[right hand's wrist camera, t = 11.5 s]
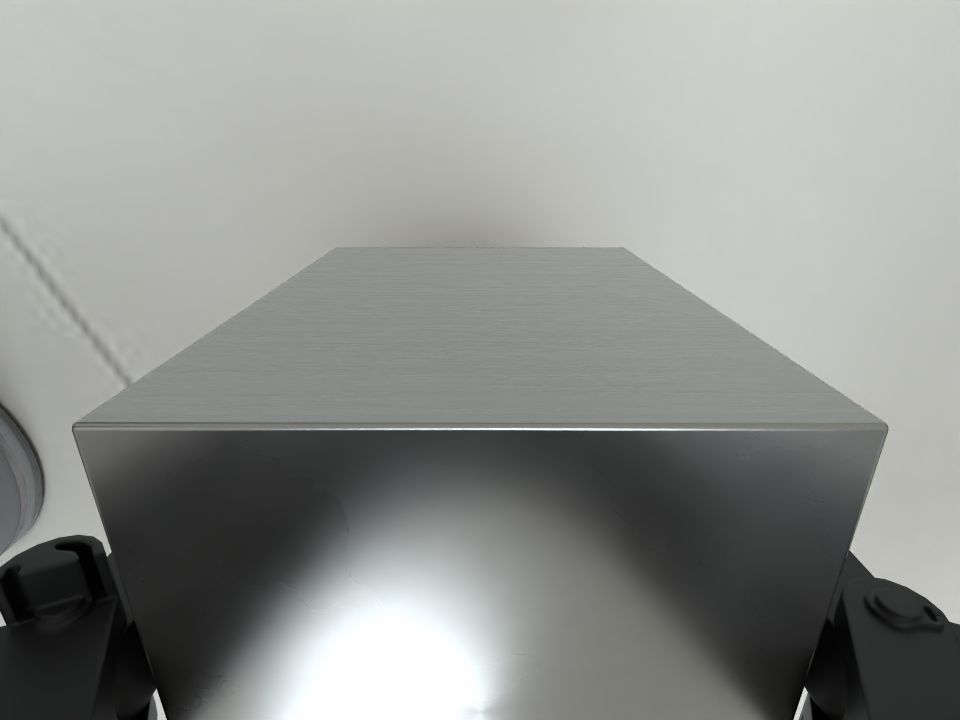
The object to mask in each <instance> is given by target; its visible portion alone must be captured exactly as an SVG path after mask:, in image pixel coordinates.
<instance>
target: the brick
mask: <svg viewBox="0 0 960 720" xmlns="http://www.w3.org/2000/svg"><path fill="white" fill-rule="evenodd" d="M72 432H73V435H74V438H75V441H76V444H77V447H78V450H79V453H80V456H81V459H82V462H83V465H84V468H85V471H86V474H87V477H88V481H89V484H90V487H91V490H92V493H93V496H94V499H95V502H96V505H97V508H98V511H99V514H100V517H101V520H102V523H103V526H104V529H105V532H106V535H107V539H108V542H109V545H110V548H111V551H112V554H113V557H114V560H115V563H116V566H117V569H118V572H119V575H120V578H121V581H122V584H123V587H124V590H125V593H126V596H127V600H128V603H129V606H130V609H131V612H132V615H133V618H134V621H135V624H136V627H137V630H138V633H139V636H140V639H141V642H142V645H143V648H144V651H145V654H146V657H147V661H148V664H149V667H150V670H151V673H152V676H153V679H154V682H155V685H156V688H157V691H158V694H159V697H160V700H161V703H162V706H163V709H164V712H165V715H166V718H167V720H793V719H794V716H795V713H796V710H797V707H798V704H799V701H800V698H801V695H802V692H803V689H804V686H805V683H806V680H807V677H808V673H809V670H810V667H811V664H812V661H813V658H814V655H815V652H816V649H817V646H818V643H819V640H820V637H821V634H822V631H823V628H824V625H825V622H826V619H827V616H828V613H829V610H830V606H831V603H832V600H833V597H834V594H835V591H836V588H837V585H838V582H839V579H840V576H841V573H842V570H843V567H844V564H845V561H846V558H847V555H848V552H849V549H850V546H851V542H852V539H853V536H854V533H855V530H856V527H857V524H858V521H859V518H860V515H861V512H862V509H863V506H864V503H865V500H866V497H867V494H868V491H869V488H870V485H871V482H872V478H873V475H874V472H875V469H876V466H877V463H878V460H879V457H880V454H881V451H882V448H883V445H884V442H885V439H886V436H887V433H888V425H887V424H886V423H885V422H883V421H882V420H880V419H879V418H877V417H876V416H874V415H873V414H872V413H870V412H869V411H867V410H866V409H864V408H863V407H861V406H860V405H858V404H857V403H855V402H854V401H852V400H851V399H849V398H848V397H846V396H845V395H843V394H842V393H840V392H839V391H837V390H836V389H834V388H833V387H831V386H830V385H828V384H827V383H825V382H824V381H822V380H821V379H819V378H818V377H816V376H815V375H813V374H812V373H810V372H809V371H807V370H806V369H804V368H803V367H801V366H800V365H798V364H797V363H795V362H794V361H792V360H791V359H789V358H788V357H786V356H785V355H783V354H782V353H780V352H779V351H777V350H776V349H774V348H773V347H771V346H770V345H768V344H767V343H765V342H764V341H762V340H761V339H760V338H758V337H757V336H755V335H754V334H752V333H751V332H749V331H748V330H746V329H745V328H743V327H742V326H740V325H739V324H737V323H736V322H734V321H733V320H731V319H730V318H728V317H727V316H725V315H724V314H722V313H721V312H719V311H718V310H716V309H715V308H713V307H712V306H710V305H709V304H707V303H706V302H704V301H703V300H701V299H700V298H698V297H697V296H695V295H694V294H692V293H691V292H689V291H688V290H686V289H685V288H683V287H682V286H680V285H679V284H677V283H676V282H674V281H673V280H671V279H670V278H668V277H667V276H665V275H664V274H662V273H661V272H659V271H658V270H656V269H655V268H653V267H652V266H650V265H649V264H648V263H646V262H645V261H643V260H642V259H640V258H639V257H637V256H636V255H634V254H633V253H631V252H630V251H628V250H627V249H625V248H335V249H334V250H332V251H331V252H329V253H328V254H326V255H325V256H323V257H322V258H320V259H319V260H317V261H316V262H314V263H313V264H311V265H310V266H308V267H307V268H305V269H304V270H302V271H301V272H299V273H298V274H296V275H295V276H293V277H292V278H290V279H289V280H287V281H286V282H284V283H283V284H281V285H280V286H278V287H277V288H275V289H274V290H272V291H271V292H269V293H268V294H266V295H265V296H263V297H262V298H260V299H259V300H257V301H256V302H254V303H253V304H251V305H250V306H248V307H247V308H245V309H244V310H242V311H241V312H239V313H238V314H237V315H235V316H234V317H232V318H231V319H229V320H228V321H226V322H225V323H223V324H222V325H220V326H219V327H217V328H216V329H214V330H213V331H211V332H210V333H208V334H207V335H205V336H204V337H202V338H201V339H199V340H198V341H196V342H195V343H193V344H192V345H190V346H189V347H187V348H186V349H184V350H183V351H181V352H180V353H178V354H177V355H175V356H174V357H172V358H171V359H169V360H168V361H166V362H165V363H163V364H162V365H160V366H159V367H157V368H156V369H154V370H153V371H151V372H150V373H148V374H147V375H145V376H144V377H142V378H141V379H140V380H138V381H137V382H135V383H134V384H132V385H131V386H129V387H128V388H126V389H125V390H123V391H122V392H120V393H119V394H117V395H116V396H114V397H113V398H111V399H110V400H108V401H107V402H105V403H104V404H102V405H101V406H99V407H98V408H96V409H95V410H93V411H92V412H90V413H89V414H87V415H86V416H84V417H83V418H81V419H80V420H78V421H77V422H75V423H74V424H73V426H72Z"/></svg>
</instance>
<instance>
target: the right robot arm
mask: <svg viewBox="0 0 960 720" xmlns="http://www.w3.org/2000/svg"><path fill="white" fill-rule="evenodd" d="M41 502H42V479H41V474H40V470H39V466H38V463H37V460H36V458H35V455H34V453H33V451H32V449H31V447H30V445H29V443H28V441H27V440H26V438H25V436H24V435H23V433H22V432H21V431H20V429H19V428H18V426H17V425H16V424H15V423H14V421H13V420H12V419H11V418H10V417H9V416H8V414H7V413H6V412H5V411H4V410H3V409H2V408H1V407H0V555H1V554H3V553H4V552H5V551H6V550H7V549H9V548H10V547H11V546H12V545H13V544H14V543H16V542H17V541H18V540H19V539H20V538H21V537H22V536H24V535H25V534H26V533H27V532H28V530H29V529H30V528H31V527H32V525H33V523H34V522H35V520H36V518H37V516H38V513H39V511H40V507H41ZM0 612H1V614H2V616H3V618H4V621H5V623H6V626H2V627H0V720H157V709H156V703H155V700H154V697H153V693H154V692H155V690H156V685H155V682H154V679H153V676H152V673H151V670H150V667H149V664H148V661H147V657H146V654H145V651H144V648H143V645H142V642H141V639H140V636H139V633H138V630H137V627H136V624H135V621H134V618H133V615H132V612H131V609H130V606H129V603H128V600H127V596H126V593H125V590H124V587H123V584H122V581H121V578H120V575H119V572H118V569H117V566H116V563H115V560H114V557H113V554H112V552H111V553H110V555H109V556H108V557H107V556H106V553H105V550H104V547H103V544H102V542H100V541H99V540H98V539H96V538H95V537H92V536H84V535H74V536H67V537H60V538H56V539H53V540H50V541H47V542H44V543H41V544H38V545H36V546H34V547H32V548H30V549H28V550H26V551H24V552H22V553H20V554H18V555H16V556H15V557H13V558H12V559H11V560H9V561H8V562H6V563H5V564H4V565H2V566H1V567H0ZM805 688H806V690H807V691H808V694H807V697H806V700H805V703H804V706H803V709H802V712H801V715H800V718H799V720H960V624H955V623H952V622H949V621H948V619H947V618H946V616H945V615H944V613H943V612H942V611H941V610H939V609H938V608H937V607H936V606H935V605H934V604H932V603H931V602H930V601H929V600H928V599H926V598H925V597H923V596H921V595H919V594H918V593H916V592H914V591H912V590H911V589H909V588H907V587H905V586H902V585H899V584H897V583H894V582H891V581H889V580H886V579H880V578H875V577H874V576H873V575H872V574H871V573H870V572H869V571H868V570H867V569H866V568H865V567H864V566H863V564H862V563H861V562H860V561H859V560H858V559H857V558H856V557H855V556H854V555H853V554H852V553H851V552H850V550H849V552H848V555H847V558H846V561H845V564H844V567H843V570H842V573H841V576H840V579H839V582H838V585H837V588H836V591H835V594H834V597H833V600H832V603H831V606H830V610H829V613H828V616H827V619H826V622H825V625H824V628H823V631H822V634H821V637H820V640H819V643H818V646H817V649H816V652H815V655H814V658H813V661H812V664H811V667H810V670H809V673H808V677H807V680H806V683H805Z"/></svg>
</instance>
